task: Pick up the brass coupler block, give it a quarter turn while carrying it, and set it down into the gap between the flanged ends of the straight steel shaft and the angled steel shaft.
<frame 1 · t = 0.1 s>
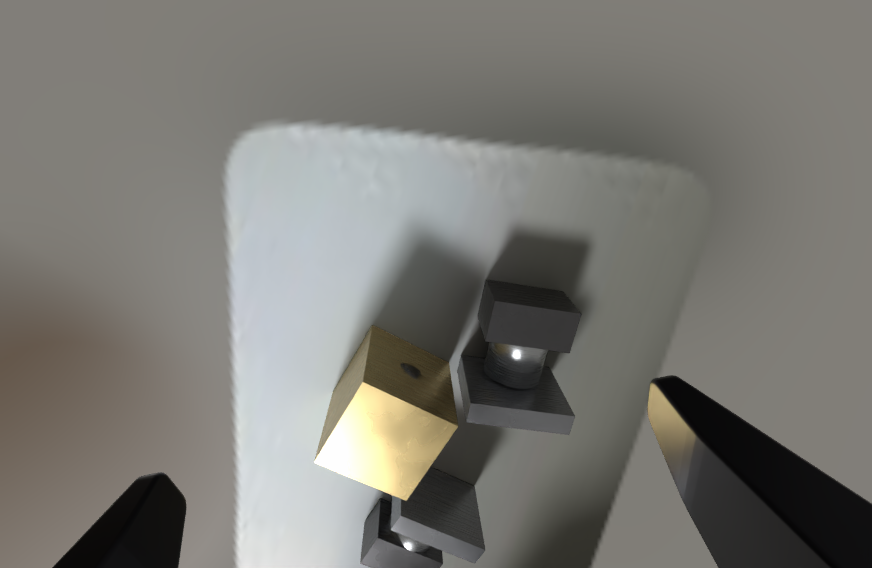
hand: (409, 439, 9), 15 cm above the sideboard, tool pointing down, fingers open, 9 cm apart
coupler: (390, 377, 26), on the sideboard
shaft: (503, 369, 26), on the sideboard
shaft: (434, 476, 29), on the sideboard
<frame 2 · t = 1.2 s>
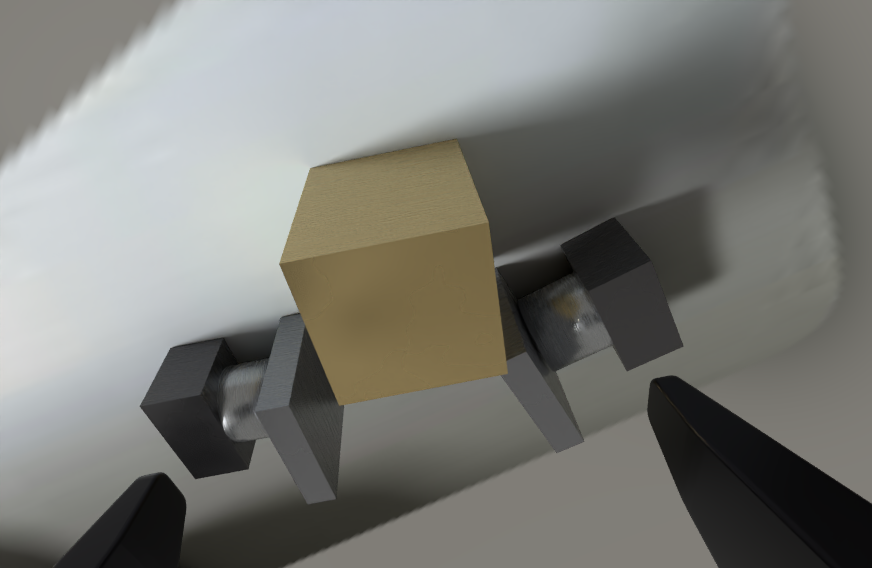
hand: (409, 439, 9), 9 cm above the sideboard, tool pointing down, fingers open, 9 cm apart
coupler: (399, 218, 16), on the sideboard
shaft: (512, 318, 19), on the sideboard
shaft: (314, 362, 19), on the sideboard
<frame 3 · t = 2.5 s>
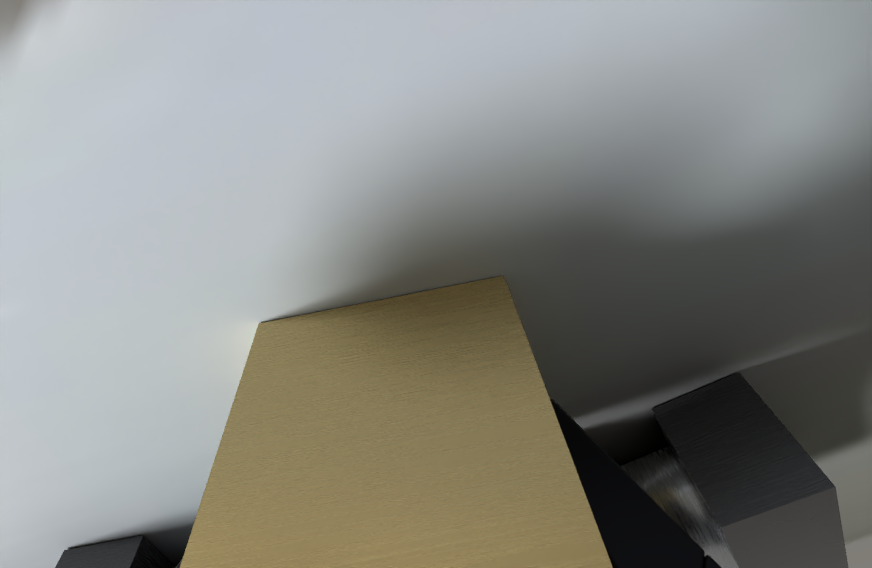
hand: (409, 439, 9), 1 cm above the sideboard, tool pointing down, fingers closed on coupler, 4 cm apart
coupler: (406, 386, 10), on the sideboard, touching gripper
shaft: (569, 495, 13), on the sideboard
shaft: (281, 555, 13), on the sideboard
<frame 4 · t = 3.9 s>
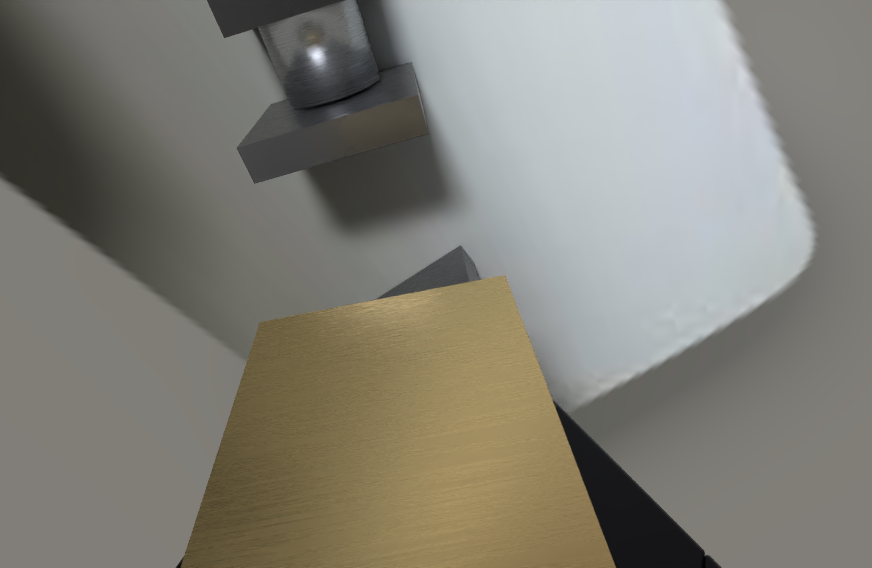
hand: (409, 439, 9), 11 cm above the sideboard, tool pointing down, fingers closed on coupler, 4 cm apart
coupler: (406, 385, 10), point 10 cm above the sideboard, touching gripper
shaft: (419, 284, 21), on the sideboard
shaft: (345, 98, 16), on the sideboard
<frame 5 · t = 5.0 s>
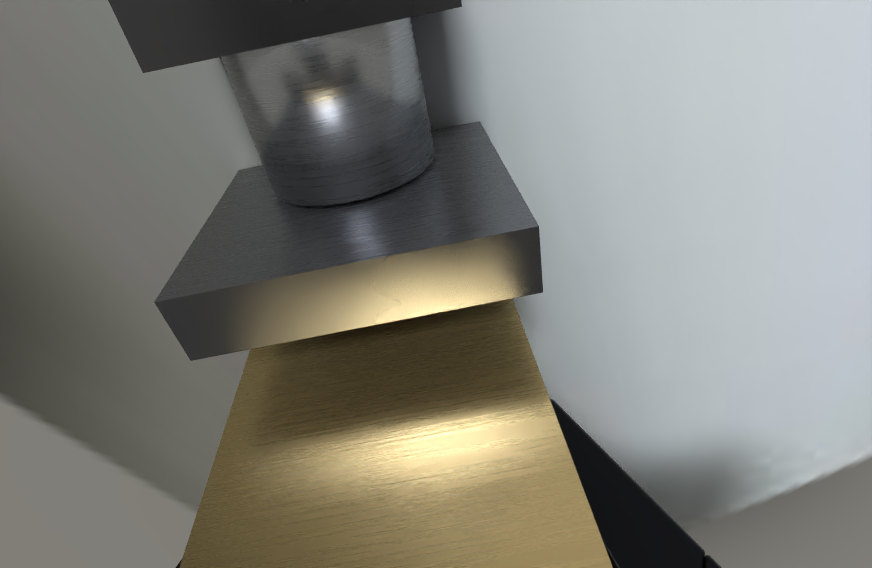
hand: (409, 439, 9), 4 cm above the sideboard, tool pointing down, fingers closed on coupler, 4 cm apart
coupler: (406, 386, 10), point 2 cm above the sideboard, touching gripper
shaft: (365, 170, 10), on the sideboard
when the fingers open (2 cm above the sideboard, at t = 5.6 s): coupler stays where it is, on the sideboard.
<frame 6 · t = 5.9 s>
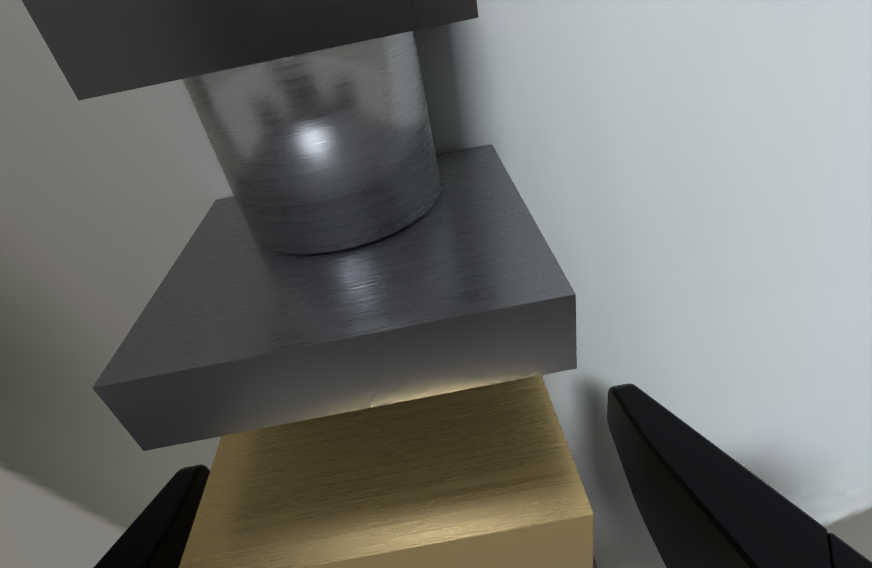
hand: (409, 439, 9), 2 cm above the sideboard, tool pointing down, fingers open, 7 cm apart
coupler: (404, 354, 11), on the sideboard
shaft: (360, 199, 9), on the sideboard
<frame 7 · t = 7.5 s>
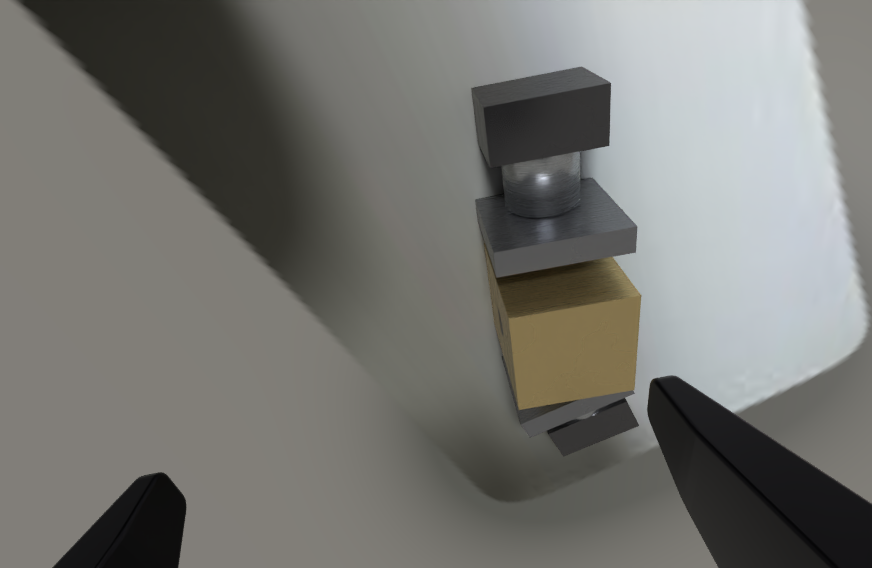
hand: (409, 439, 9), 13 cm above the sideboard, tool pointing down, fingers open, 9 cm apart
coupler: (538, 276, 23), on the sideboard
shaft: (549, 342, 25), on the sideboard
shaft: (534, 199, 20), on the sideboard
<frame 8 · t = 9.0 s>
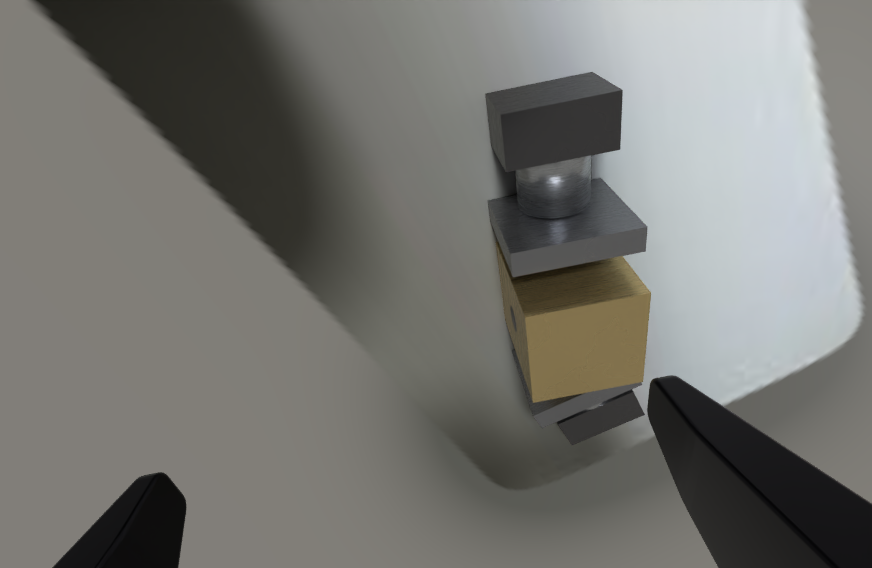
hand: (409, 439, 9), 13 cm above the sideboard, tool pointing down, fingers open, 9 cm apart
coupler: (547, 273, 23), on the sideboard
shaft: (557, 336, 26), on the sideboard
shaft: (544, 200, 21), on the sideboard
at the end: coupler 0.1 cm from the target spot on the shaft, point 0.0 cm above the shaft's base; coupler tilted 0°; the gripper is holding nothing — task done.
